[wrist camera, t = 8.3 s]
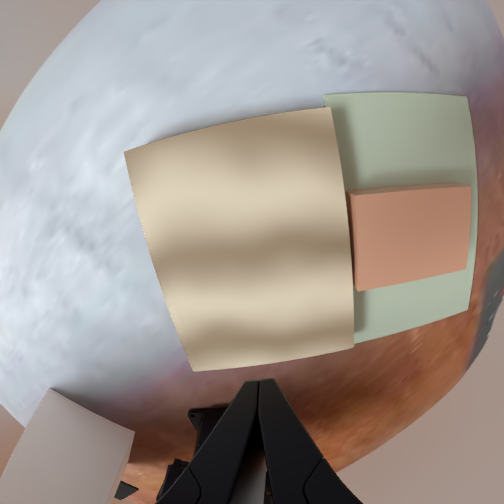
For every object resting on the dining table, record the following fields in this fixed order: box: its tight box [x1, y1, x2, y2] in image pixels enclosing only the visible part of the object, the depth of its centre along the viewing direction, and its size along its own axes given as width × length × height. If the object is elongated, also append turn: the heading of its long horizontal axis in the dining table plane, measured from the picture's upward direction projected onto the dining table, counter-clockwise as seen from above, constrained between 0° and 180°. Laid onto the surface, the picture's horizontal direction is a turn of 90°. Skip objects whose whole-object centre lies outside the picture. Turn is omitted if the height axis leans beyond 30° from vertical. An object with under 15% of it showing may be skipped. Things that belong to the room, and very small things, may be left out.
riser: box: [124, 107, 354, 372], centre depth 18 cm, size 16×12×2 cm
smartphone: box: [114, 481, 138, 500], centre depth 36 cm, size 7×1×15 cm
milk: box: [0, 388, 135, 504], centre depth 16 cm, size 12×12×26 cm
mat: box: [323, 92, 478, 344], centre depth 18 cm, size 18×12×1 cm, turn 11°
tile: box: [345, 182, 471, 291], centre depth 17 cm, size 6×9×2 cm, turn 99°
